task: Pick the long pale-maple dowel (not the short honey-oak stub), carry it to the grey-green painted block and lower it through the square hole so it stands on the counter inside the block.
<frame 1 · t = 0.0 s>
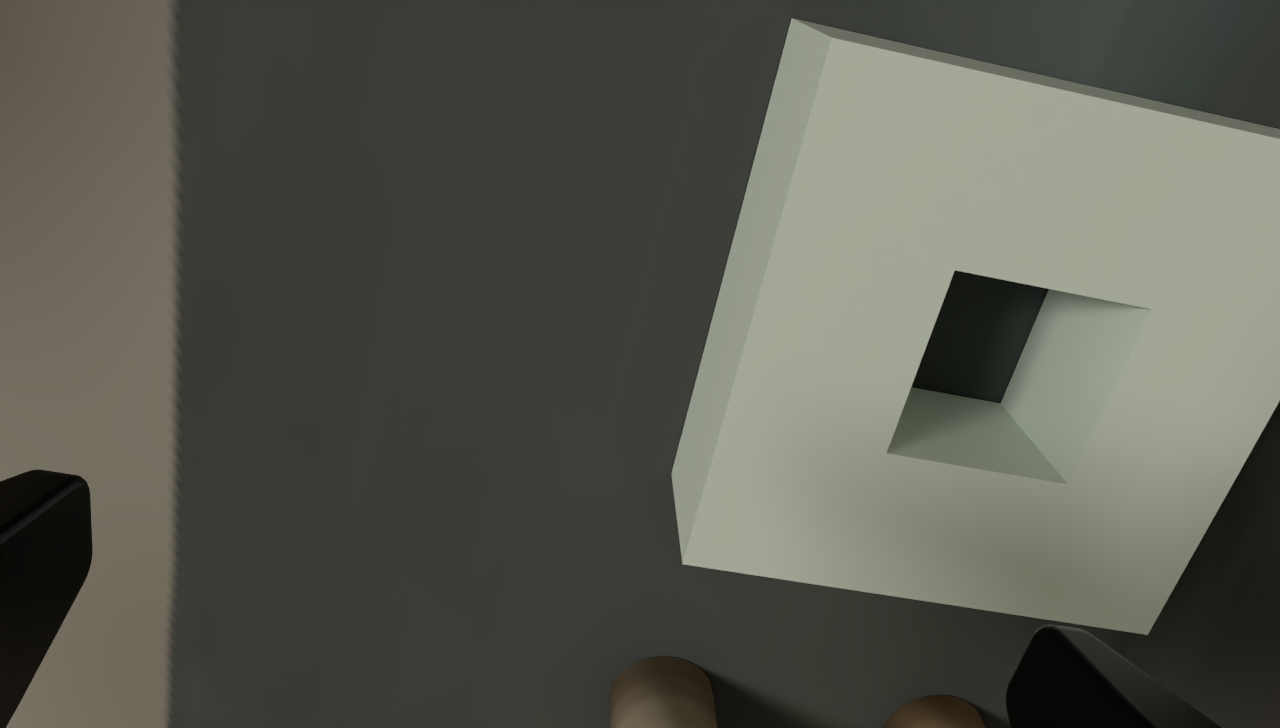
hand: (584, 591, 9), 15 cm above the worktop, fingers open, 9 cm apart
hole block: (952, 313, 24), on the worktop
long dowel: (661, 696, 29), on the worktop
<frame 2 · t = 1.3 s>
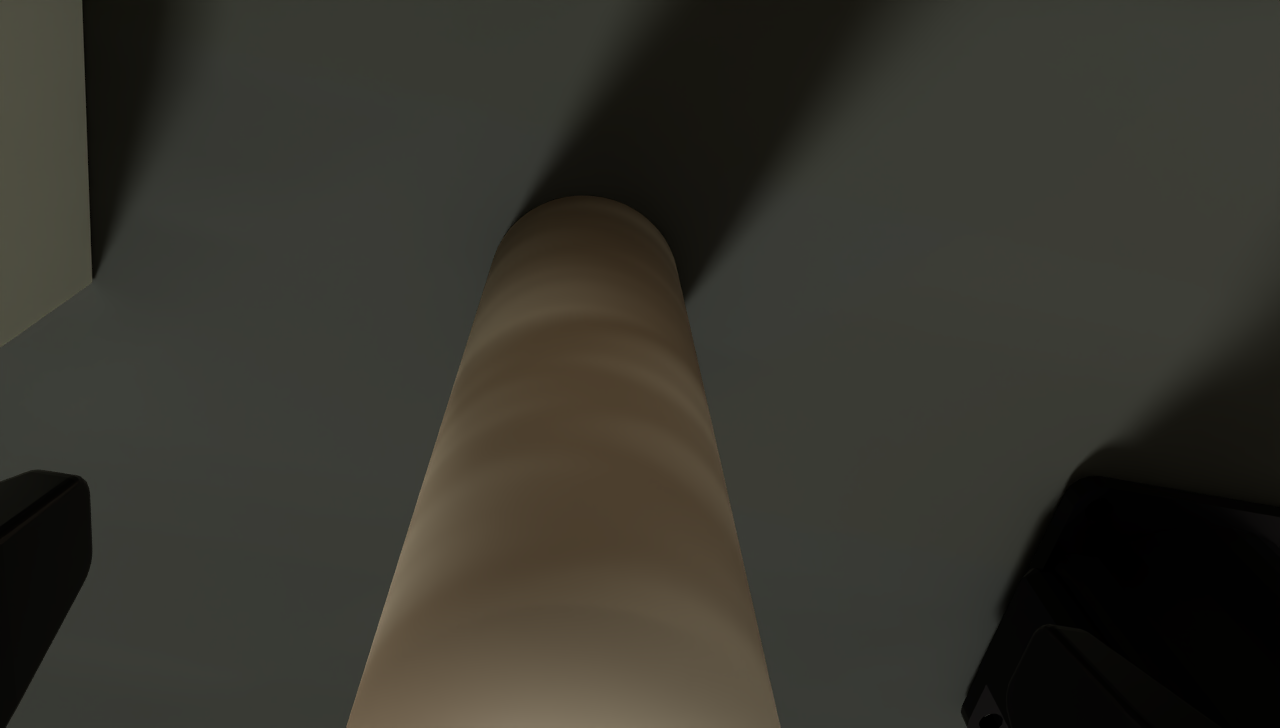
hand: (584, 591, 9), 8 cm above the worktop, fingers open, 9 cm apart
long dowel: (584, 287, 16), on the worktop
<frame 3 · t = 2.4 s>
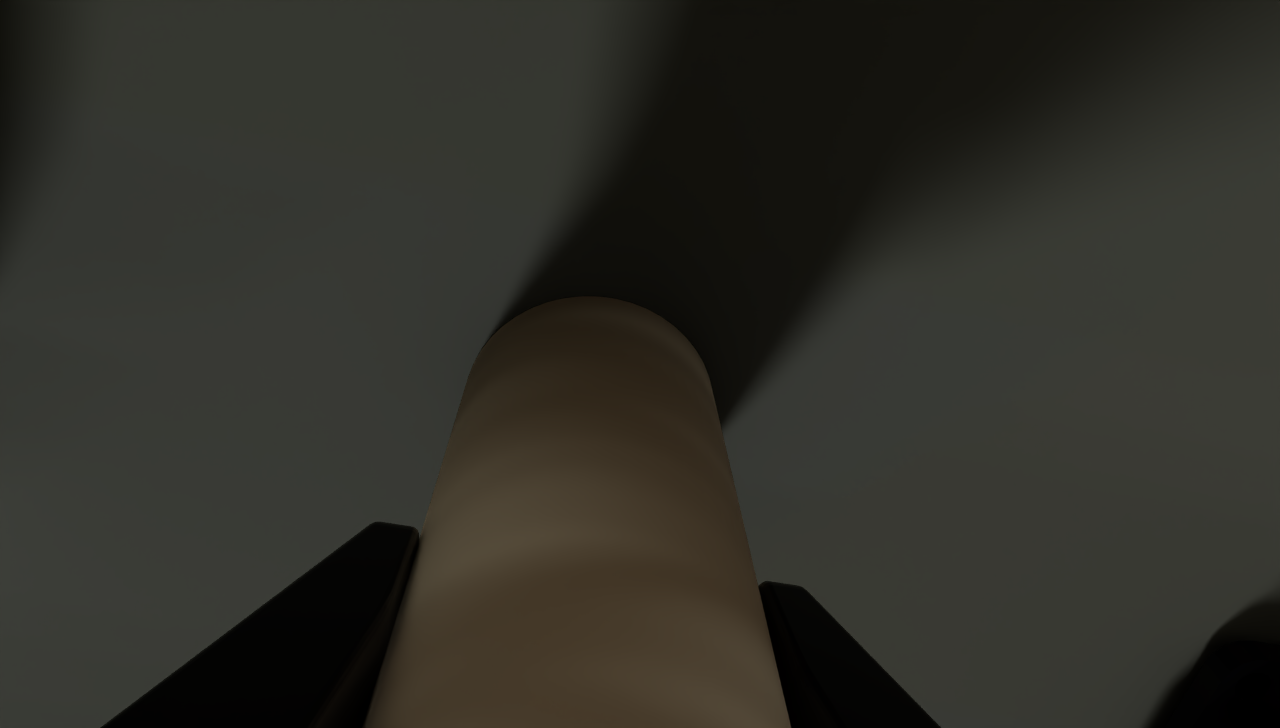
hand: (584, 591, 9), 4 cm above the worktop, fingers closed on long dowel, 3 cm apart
long dowel: (589, 412, 12), on the worktop, touching gripper
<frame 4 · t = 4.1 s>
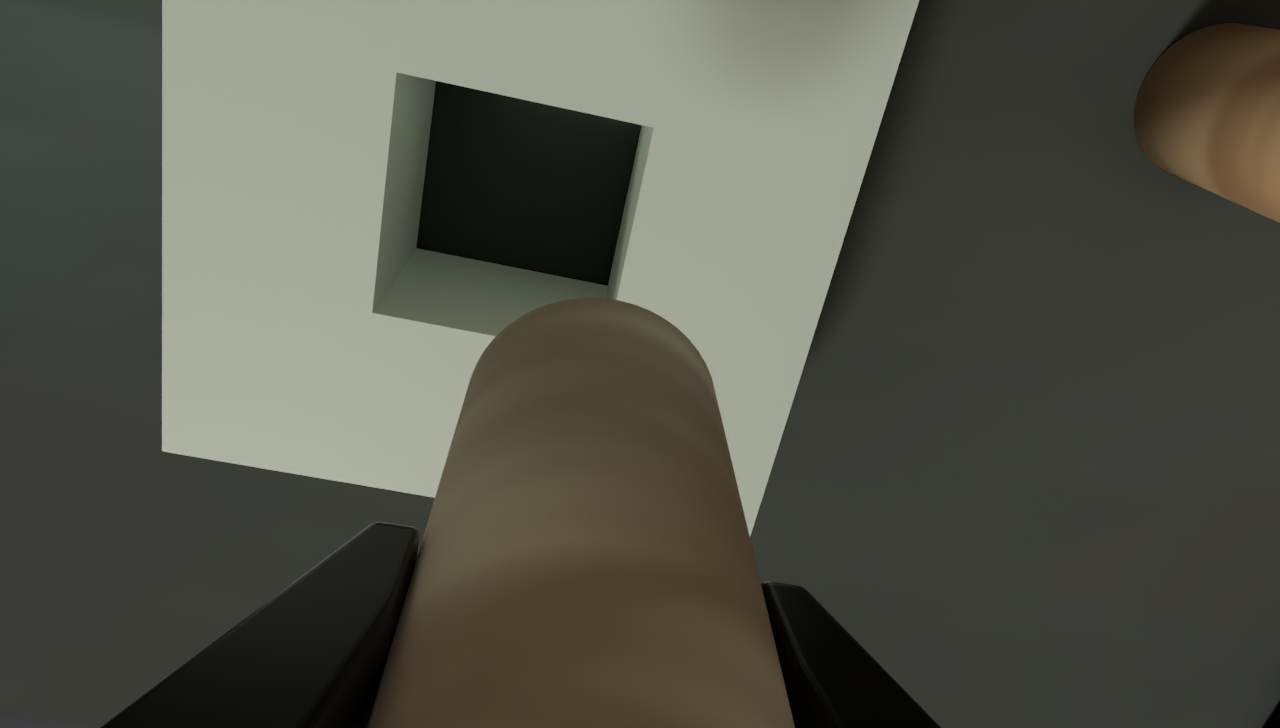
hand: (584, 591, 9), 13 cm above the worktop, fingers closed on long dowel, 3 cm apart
hole block: (528, 173, 20), on the worktop
short dowel: (1210, 102, 20), on the worktop
long dowel: (592, 414, 12), point 10 cm above the worktop, touching gripper
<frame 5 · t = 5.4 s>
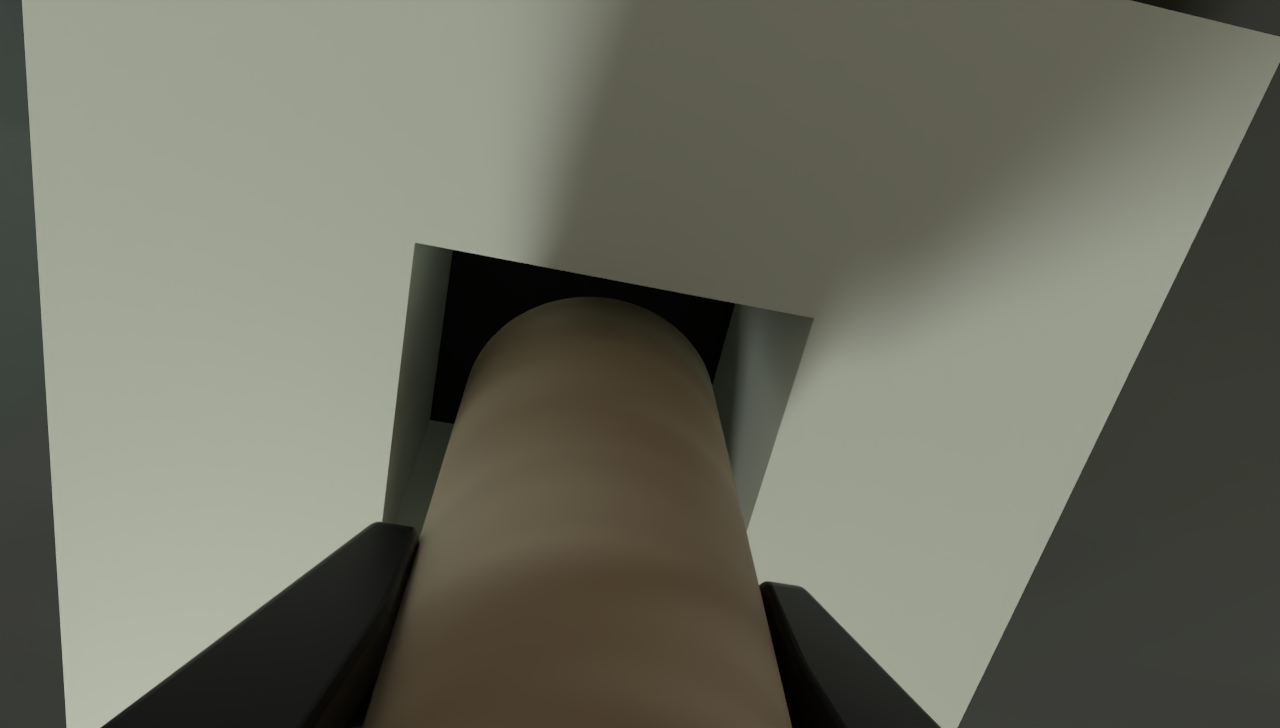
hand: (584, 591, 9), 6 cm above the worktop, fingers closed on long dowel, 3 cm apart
hole block: (587, 322, 15), on the worktop
long dowel: (590, 413, 12), point 3 cm above the worktop, touching gripper
when the fingers open (5 cm above the worktop, at t = 6.0 s): long dowel drops 2 cm, resting in hole block.
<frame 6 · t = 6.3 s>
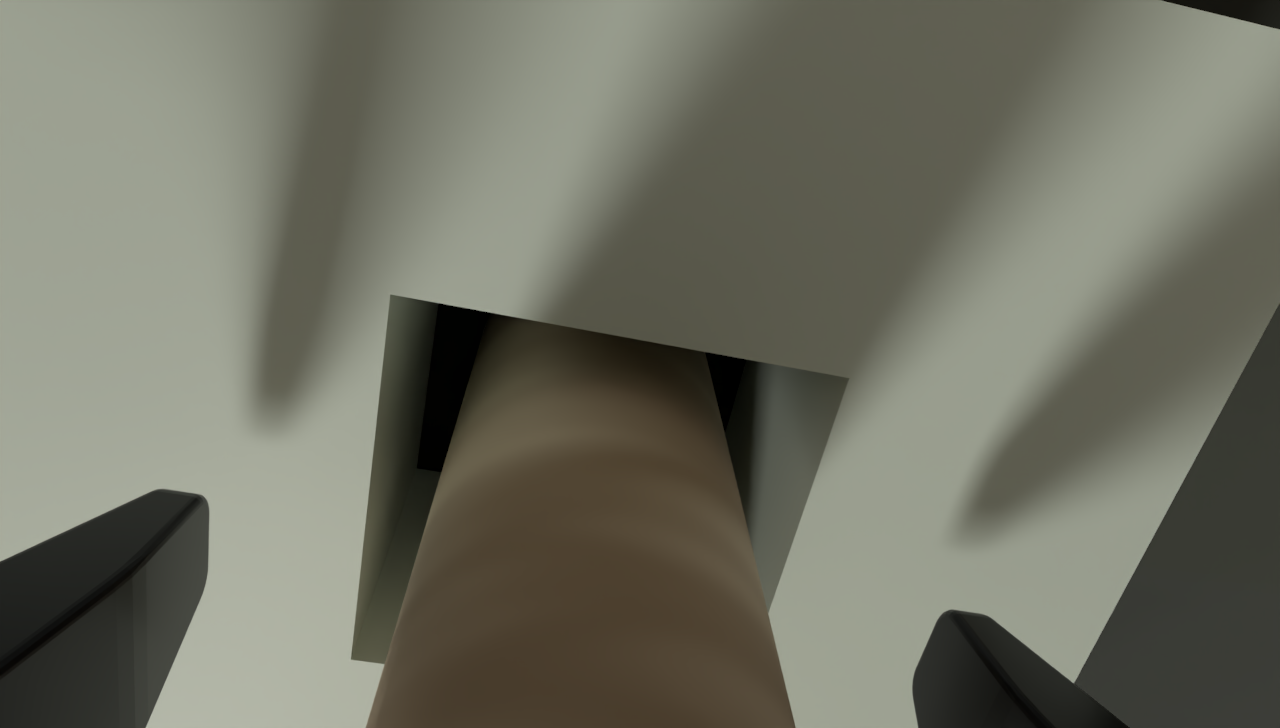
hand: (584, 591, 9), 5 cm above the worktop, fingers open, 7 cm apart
hole block: (588, 363, 13), on the worktop
long dowel: (592, 362, 13), resting in hole block
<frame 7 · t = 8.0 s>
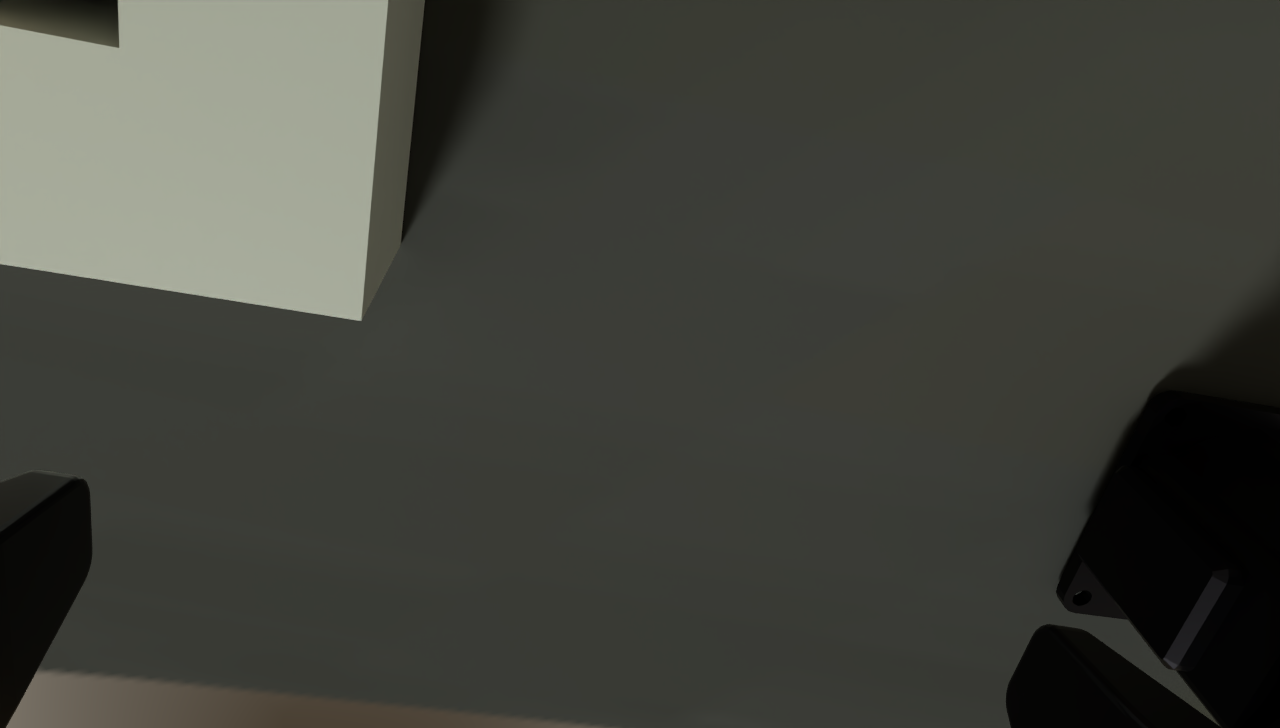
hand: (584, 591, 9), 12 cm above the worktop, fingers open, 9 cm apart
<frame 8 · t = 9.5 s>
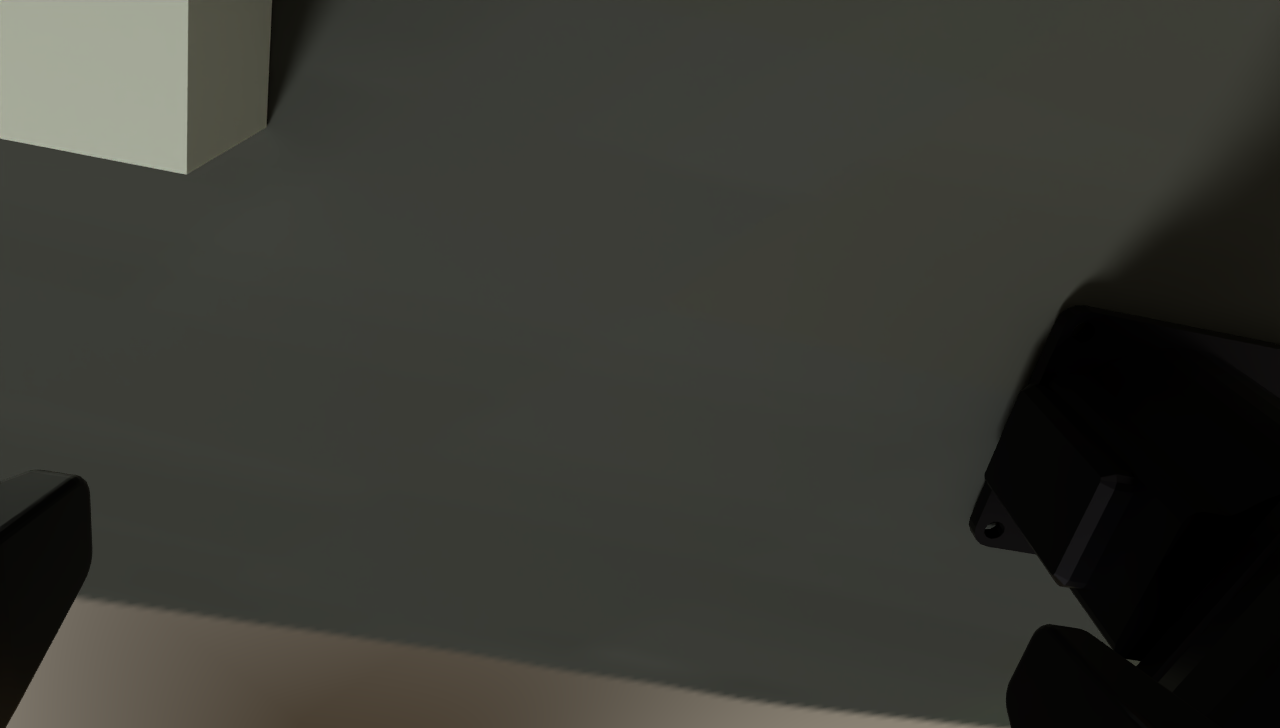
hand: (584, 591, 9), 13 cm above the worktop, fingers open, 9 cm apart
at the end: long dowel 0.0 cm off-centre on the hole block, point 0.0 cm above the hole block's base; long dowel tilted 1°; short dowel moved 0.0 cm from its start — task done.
